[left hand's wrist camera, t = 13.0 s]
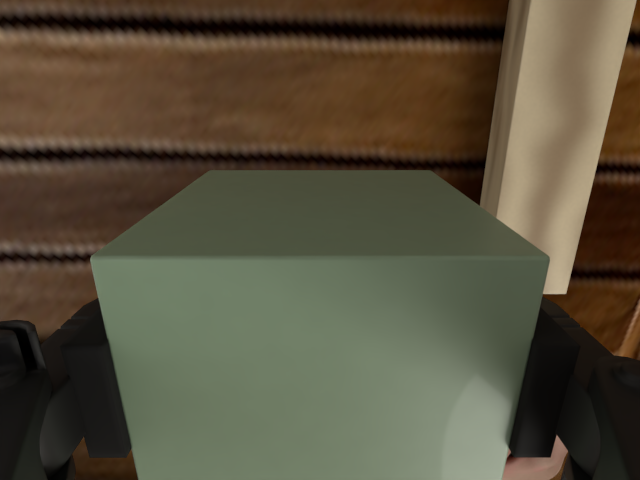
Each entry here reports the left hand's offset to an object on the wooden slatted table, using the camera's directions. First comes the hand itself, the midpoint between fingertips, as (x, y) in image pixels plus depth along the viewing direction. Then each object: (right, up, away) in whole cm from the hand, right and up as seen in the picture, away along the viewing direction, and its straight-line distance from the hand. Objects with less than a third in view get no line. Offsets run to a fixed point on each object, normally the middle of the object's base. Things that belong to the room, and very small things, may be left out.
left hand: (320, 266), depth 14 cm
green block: (0, +1, +2) cm, 2 cm away
